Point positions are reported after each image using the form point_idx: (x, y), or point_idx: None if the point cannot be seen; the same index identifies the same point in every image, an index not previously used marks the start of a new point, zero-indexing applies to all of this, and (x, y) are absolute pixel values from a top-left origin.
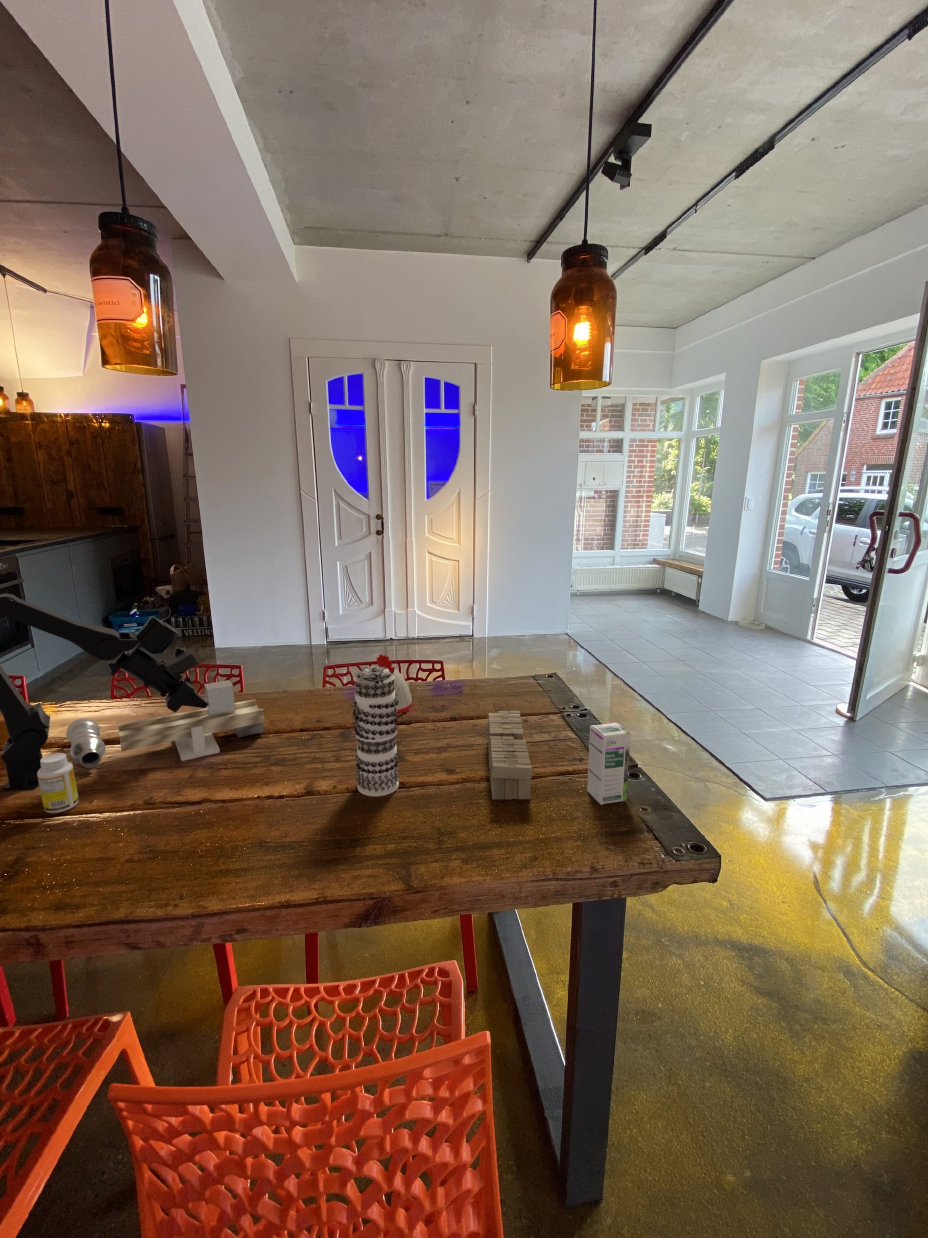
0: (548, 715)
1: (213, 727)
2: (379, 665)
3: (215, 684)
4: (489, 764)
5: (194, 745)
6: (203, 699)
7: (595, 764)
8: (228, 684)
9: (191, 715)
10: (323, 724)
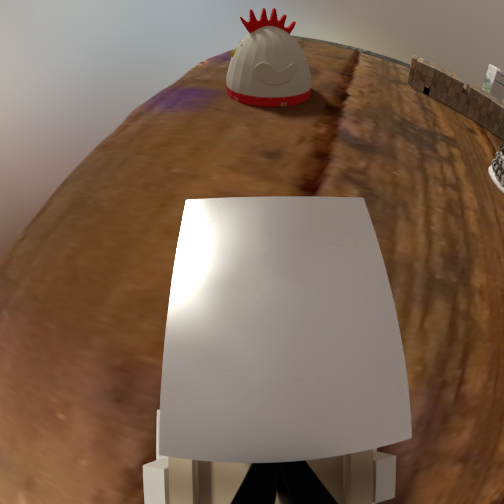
0: (361, 54)
1: None
2: (252, 27)
3: (254, 338)
4: (467, 111)
5: None
6: (252, 464)
7: (497, 93)
8: (322, 220)
9: (196, 495)
10: (295, 153)
